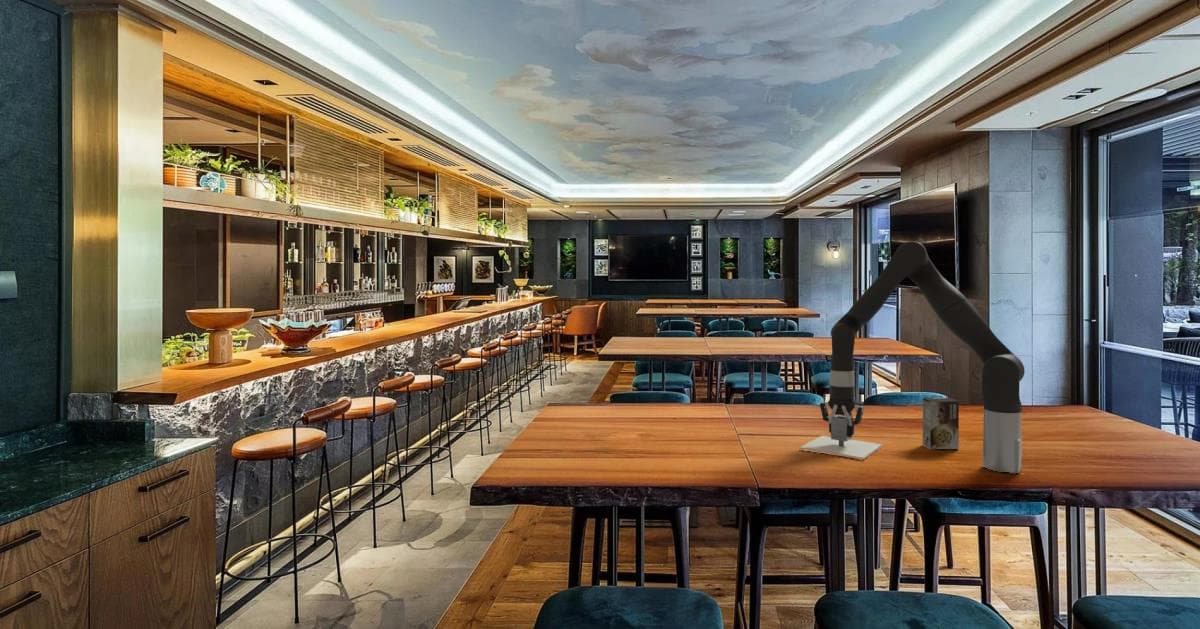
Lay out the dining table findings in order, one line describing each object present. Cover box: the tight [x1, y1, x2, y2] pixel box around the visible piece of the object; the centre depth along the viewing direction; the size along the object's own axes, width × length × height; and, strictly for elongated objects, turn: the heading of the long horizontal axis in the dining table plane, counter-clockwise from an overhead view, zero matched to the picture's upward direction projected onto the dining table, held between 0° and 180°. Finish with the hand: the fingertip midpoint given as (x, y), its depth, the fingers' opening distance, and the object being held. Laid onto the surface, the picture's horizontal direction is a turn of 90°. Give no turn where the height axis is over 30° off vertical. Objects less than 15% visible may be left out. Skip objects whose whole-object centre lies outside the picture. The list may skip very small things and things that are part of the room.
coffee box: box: [922, 397, 960, 450], centre depth 207 cm, size 9×6×16 cm
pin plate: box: [799, 435, 883, 460], centre depth 207 cm, size 20×20×6 cm
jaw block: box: [830, 415, 853, 442], centre depth 207 cm, size 5×5×7 cm
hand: (841, 435), depth 207 cm, fingers closed on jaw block, 5 cm apart
